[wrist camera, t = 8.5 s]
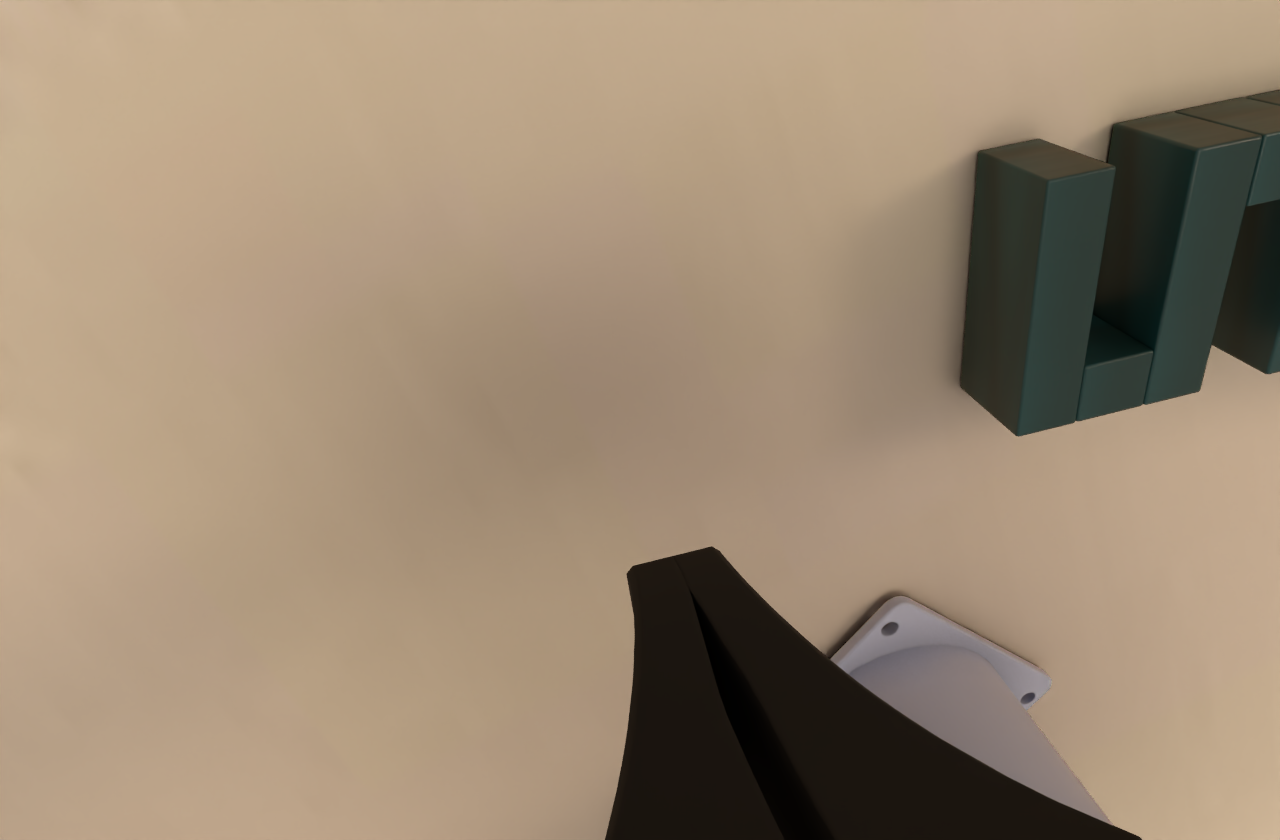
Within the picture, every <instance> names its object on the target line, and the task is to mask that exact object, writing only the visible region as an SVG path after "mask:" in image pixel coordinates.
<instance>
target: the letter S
mask: <svg viewBox="0 0 1280 840" xmlns="http://www.w3.org/2000/svg"><path fill="white" fill-rule="evenodd" d="M1211 345H1213V346H1215V347H1217V348H1219V349H1221V350H1222V351H1224V352H1226V353H1228V354H1230V355H1232V356H1233V357H1235V358H1237V359H1239V360H1241V361H1243V362H1245V363H1246V364H1248V365H1250V366H1252V367H1254V368H1256V369H1257V370H1259V371H1261V372H1263V373H1265V374H1272V373H1276V372H1280V90H1278V91H1273V92H1268V93H1263V94H1258V95H1253V96H1248V97H1245V98H1237V99H1232V100H1227V101H1222V102H1217V103H1212V104H1207V105H1203V106H1198V107H1193V108H1188V109H1183V110H1178V111H1175V112H1170V113H1165V114H1160V115H1155V116H1150V117H1145V118H1140V119H1135V120H1130V121H1126V122H1121V123H1116V124H1114V126H1113V132H1112V138H1111V145H1110V151H1109V158H1108V163H1105V162H1102V161H1099V160H1097V159H1094V158H1091V157H1088V156H1086V155H1083V154H1080V153H1077V152H1075V151H1072V150H1069V149H1066V148H1063V147H1061V146H1058V145H1055V144H1052V143H1050V142H1047V141H1044V140H1041V139H1036V140H1031V141H1026V142H1022V143H1017V144H1012V145H1007V146H1002V147H997V148H992V149H987V150H982V151H979V153H978V162H977V176H976V189H975V202H974V215H973V229H972V242H971V255H970V268H969V281H968V295H967V308H966V321H965V334H964V348H963V361H962V374H961V388H962V389H963V390H964V391H965V392H966V393H968V394H969V395H970V396H971V397H972V398H973V399H974V400H976V401H977V402H978V403H979V404H980V405H981V406H982V407H984V408H985V409H986V410H987V411H988V412H989V413H990V414H992V415H993V416H994V417H995V418H996V419H997V420H998V421H1000V422H1001V423H1002V424H1003V425H1004V426H1005V427H1006V428H1008V429H1009V430H1010V431H1011V432H1012V433H1013V434H1015V435H1016V436H1023V435H1027V434H1031V433H1035V432H1039V431H1043V430H1047V429H1051V428H1055V427H1059V426H1063V425H1067V424H1071V423H1074V422H1075V421H1082V420H1086V419H1090V418H1094V417H1098V416H1102V415H1106V414H1110V413H1114V412H1118V411H1122V410H1126V409H1130V408H1134V407H1139V406H1141V405H1142V404H1145V405H1147V404H1151V403H1155V402H1159V401H1163V400H1167V399H1171V398H1175V397H1179V396H1183V395H1187V394H1191V393H1196V392H1198V391H1200V389H1201V385H1202V381H1203V377H1204V373H1205V369H1206V365H1207V360H1208V356H1209V352H1210V348H1211Z"/></svg>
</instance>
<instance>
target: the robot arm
mask: <svg viewBox="0 0 1280 840" xmlns="http://www.w3.org/2000/svg"><path fill="white" fill-rule="evenodd" d="M627 579H628V585H629V590H630V596H631V602H632V607H633V613H634V628H635V645H634V672H633V686H632V695H631V704H630V713H629V722H628V730H627V737H626V743H625V749H624V755H623V761H622V767H621V772H620V777H619V782H618V787H617V792H616V796H615V800H614V805H613V809H612V813H611V817H610V821H609V826H608V830H607V834H606V838H605V840H1142V839H1141V838H1140V837H1139V836H1136V835H1134V834H1132V833H1129V832H1127V831H1125V830H1122V829H1120V828H1118V827H1115V826H1114V825H1113V824H1112V823H1111V821H1110V820H1109V819H1108V817H1107V816H1106V815H1105V813H1104V812H1103V811H1102V809H1101V808H1100V807H1099V805H1098V804H1097V803H1096V802H1095V800H1094V799H1093V798H1092V796H1091V795H1090V794H1089V792H1088V791H1087V790H1086V788H1085V787H1084V786H1083V784H1082V783H1081V782H1080V781H1079V779H1078V778H1077V777H1076V775H1075V774H1074V773H1073V771H1072V770H1071V769H1070V767H1069V766H1068V765H1067V763H1066V762H1065V761H1064V760H1063V758H1062V757H1061V756H1060V754H1059V753H1058V752H1057V750H1056V749H1055V748H1054V746H1053V745H1052V744H1051V742H1050V741H1049V740H1048V739H1047V737H1046V736H1045V735H1044V733H1043V732H1042V731H1041V729H1040V728H1039V727H1038V725H1037V724H1036V723H1035V721H1034V720H1033V719H1032V718H1031V716H1030V715H1029V714H1028V712H1027V710H1028V709H1029V708H1030V707H1031V706H1032V705H1033V704H1034V703H1035V702H1036V701H1038V700H1039V699H1040V698H1041V697H1042V696H1043V695H1044V694H1045V693H1046V692H1047V691H1048V690H1049V689H1050V687H1051V685H1052V679H1051V678H1050V677H1049V676H1048V674H1047V673H1046V672H1045V671H1044V670H1043V669H1041V668H1039V667H1037V666H1035V665H1033V664H1031V663H1030V662H1028V661H1026V660H1024V659H1022V658H1020V657H1018V656H1016V655H1015V654H1013V653H1011V652H1009V651H1007V650H1005V649H1003V648H1002V647H1000V646H998V645H996V644H994V643H992V642H990V641H988V640H987V639H985V638H983V637H981V636H979V635H977V634H975V633H973V632H972V631H970V630H968V629H966V628H964V627H962V626H960V625H959V624H957V623H955V622H953V621H951V620H949V619H947V618H945V617H944V616H942V615H940V614H938V613H936V612H934V611H932V610H931V609H929V608H927V607H925V606H923V605H921V604H919V603H917V602H916V601H914V600H912V599H910V598H908V597H905V596H896V597H893V598H891V599H889V600H888V601H887V602H885V603H884V604H883V605H882V606H881V607H880V608H879V609H878V610H877V611H876V612H875V613H874V614H873V616H872V617H871V618H870V619H869V620H868V621H867V622H866V623H865V624H864V625H863V626H862V627H861V628H860V629H859V630H858V631H857V632H856V633H855V634H854V635H853V636H852V637H851V638H850V639H849V640H848V641H847V642H846V643H845V644H844V645H843V646H842V647H841V648H840V649H839V650H838V651H837V652H836V653H835V655H834V656H833V657H832V658H831V659H829V658H828V657H826V656H825V655H824V654H823V653H822V652H820V651H819V650H818V649H817V648H816V647H815V646H813V645H812V644H811V643H810V642H809V641H808V640H807V639H805V638H804V637H803V636H802V635H801V634H800V633H799V632H798V631H797V630H796V629H794V628H793V627H792V626H791V625H790V624H789V623H788V622H787V621H786V620H785V619H784V618H782V617H781V616H780V615H779V614H778V613H777V612H776V611H775V610H774V609H773V608H772V607H771V606H770V605H769V604H768V603H767V602H766V601H765V600H764V599H763V598H762V597H761V596H760V595H759V594H758V593H757V592H756V591H755V590H754V589H753V588H752V587H751V586H750V585H749V584H748V583H747V582H746V581H745V579H744V578H743V577H742V576H741V575H740V574H739V573H738V572H737V571H736V570H735V569H734V567H733V566H732V565H731V564H730V563H729V562H728V561H727V559H726V558H725V557H724V556H723V555H722V553H721V552H720V551H719V550H717V549H715V548H714V547H708V548H704V549H700V550H696V551H692V552H688V553H684V554H680V555H676V556H671V557H667V558H663V559H659V560H655V561H651V562H647V563H643V564H639V565H635V566H633V567H632V568H631V569H630V570H629V571H628V573H627ZM887 623H888V624H887ZM886 624H887V625H886Z"/></svg>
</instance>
